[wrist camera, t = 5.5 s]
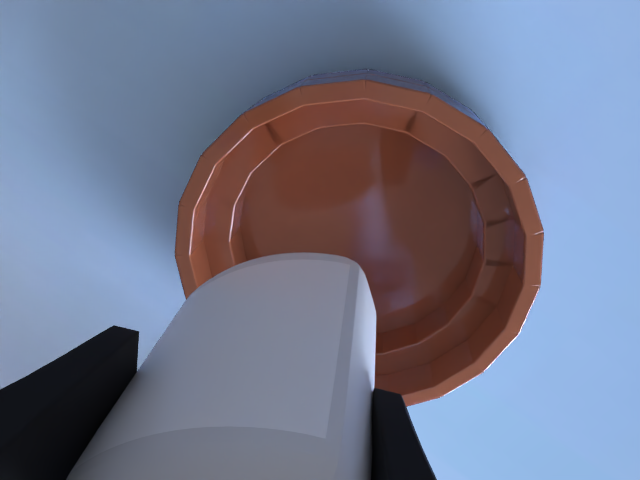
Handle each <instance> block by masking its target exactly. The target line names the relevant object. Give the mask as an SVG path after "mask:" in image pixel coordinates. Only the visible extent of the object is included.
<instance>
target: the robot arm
mask: <svg viewBox="0 0 640 480" xmlns="http://www.w3.org/2000/svg"><path fill="white" fill-rule="evenodd" d="M138 341H139V331H135V330H131V329H127V328H123V327H118V326H112V327H110V328H108V329H107V330H105V331H103V332H101V333H100V334H98V335H96V336H95V337H93V338H91V339H90V340H88V341H86V342H84V343H83V344H81V345H79V346H78V347H76V348H74V349H73V350H71V351H69V352H68V353H66V354H64V355H63V356H61V357H59V358H57V359H56V360H54V361H52V362H50V363H49V364H47V365H45V366H43V367H42V368H40V369H38V370H36V371H35V372H33V373H31V374H29V375H27V376H26V377H24V378H22V379H20V380H18V381H16V382H14V383H12V384H10V385H8V386H6V387H4V388H2V389H1V390H0V480H66V479H67V477H68V475H69V473H70V472H71V470H72V469H73V467H74V466H75V464H76V463H77V461H78V459H79V458H80V456H81V455H82V453H83V452H84V450H85V449H86V447H87V446H88V444H89V442H90V441H91V439H92V438H93V436H94V435H95V433H96V432H97V430H98V429H99V427H100V426H101V424H102V423H103V421H104V420H105V418H106V417H107V415H108V414H109V412H110V411H111V409H112V408H113V406H114V405H115V403H116V402H117V400H118V399H119V398H120V396H121V395H122V393H123V392H124V390H125V389H126V387H127V386H128V384H129V383H130V381H131V380H132V378H133V377H134V375H135V374H136V372H137V358H138ZM371 480H437V479H436V477H435V475H434V473H433V470H432V468H431V466H430V464H429V462H428V460H427V457H426V455H425V453H424V451H423V448H422V446H421V444H420V441H419V439H418V436H417V434H416V431H415V429H414V426H413V424H412V421H411V419H410V416H409V413H408V410H407V408H406V405H405V402H404V399H403V397H402V396H401V394H398V393H394V392H390V391H386V390H382V389H378V388H374V390H373V405H372V469H371Z"/></svg>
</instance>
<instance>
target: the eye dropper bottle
mask: <svg viewBox="0 0 640 480" xmlns="http://www.w3.org/2000/svg"><path fill="white" fill-rule="evenodd" d="M375 348H376V310H375V306H374V302H373V299H372V295H371V292H370V288H369V285H368V282H367V279H366V276H365V273H364V272H363V270H362V269H361V267H360V266H359V264H358V263H356V262H355V261H353V260H351V259H349V258H347V257H343V256H338V255H332V254H323V253H304V252H302V253H283V254H276V255H269V256H264V257H260V258H256V259H252V260H249V261H246V262H243V263H241V264H238V265H235V266H233V267H231V268H229V269H227V270H225V271H223V272H221V273H219V274H217V275H216V276H214V277H213V278H211V279H209V280H208V281H206V282H205V283H204V284H202V285H201V286H199V287H198V288H197V289H196V290H195V291H194V292H193V293H191V294H190V295H189V297H188V298H187V299H186V301H185V302H184V304H183V305H182V307H181V308H180V310H179V311H178V312H177V314H176V315H175V317H174V318H173V320H172V321H171V323H170V324H169V326H168V327H167V328H166V330H165V331H164V333H163V334H162V336H161V337H160V339H159V340H158V342H157V343H156V345H155V346H154V347H153V349H152V350H151V352H150V353H149V355H148V356H147V358H146V359H145V361H144V362H143V364H142V365H141V367H140V368H139V369H138V371H137V372H136V374H135V375H134V377H133V378H132V380H131V381H130V383H129V384H128V386H127V387H126V389H125V390H124V392H123V393H122V395H121V396H120V398H119V399H118V400H117V402H116V403H115V405H114V406H113V408H112V409H111V411H110V412H109V414H108V415H107V417H106V418H105V420H104V421H103V423H102V424H101V426H100V427H99V429H98V430H97V432H96V433H95V435H94V436H93V438H92V439H91V441H90V442H89V444H88V446H87V447H86V449H85V450H84V452H83V453H82V455H81V456H80V458H79V459H78V461H77V463H76V464H75V466H74V467H73V469H72V470H71V472H70V473H69V475H68V477H67V479H66V480H371V469H372V405H373V390H374V384H375Z"/></svg>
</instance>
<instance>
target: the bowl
mask: <svg viewBox="0 0 640 480" xmlns="http://www.w3.org/2000/svg"><path fill="white" fill-rule="evenodd" d="M543 240H544V233H543V227H542V224H541V220H540V217H539V214H538V211H537V208H536V205H535V202H534V198H533V195H532V192H531V189H530V186H529V183H528V180H527V178H526V176H525V174H524V173H523V171H522V170H521V169H520V168H519V166H518V165H517V164H516V163H515V161H514V160H513V159H512V158H511V156H510V155H509V154H508V153H507V151H506V150H505V149H504V148H503V146H502V145H501V144H500V143H499V141H498V140H497V139H496V138H495V136H494V135H493V134H492V133H491V131H490V130H489V129H488V128H487V127H486V125H485V124H484V123H483V122H482V121H481V120H480V119H479V117H478V116H477V115H476V114H475V113H474V112H473V111H472V110H471V109H469V108H468V107H466V106H465V105H463V104H461V103H460V102H458V101H456V100H455V99H453V98H452V97H450V96H448V95H447V94H445V93H443V92H442V91H440V90H439V89H437V88H435V87H434V86H432V85H430V84H429V83H427V82H423V81H422V80H418V79H413V78H409V77H404V76H400V75H395V74H391V73H386V72H382V71H377V70H372V69H369V70H368V69H359V70H351V71H342V72H333V73H324V74H315V75H312V76H308V77H306V78H304V79H302V80H300V81H298V82H296V83H294V84H292V85H289V86H287V87H285V88H283V89H281V90H279V91H277V92H275V93H273V94H271V95H268V96H266V97H264V98H263V99H261V100H260V101H259V102H257V103H256V104H254V105H253V106H252V107H250V108H249V109H248V110H246V111H245V112H244V113H242V114H241V115H240V116H239V117H238V118H237V119H236V120H235V121H234V122H233V123H232V124H231V125H230V126H229V127H228V128H227V129H226V130H225V131H224V132H223V133H222V134H221V135H220V136H219V137H218V138H217V139H216V140H215V141H214V142H213V143H212V144H211V145H210V146H209V147H208V148H207V149H206V150H205V151H204V152H203V153H202V155H201V156H200V158H199V160H198V162H197V164H196V166H195V169H194V171H193V173H192V175H191V177H190V179H189V182H188V184H187V186H186V188H185V190H184V192H183V195H182V197H181V199H180V201H179V205H178V218H177V230H176V242H175V259H176V263H177V267H178V270H179V274H180V278H181V282H182V286H183V290H184V294H185V297H186V299H187V298H188V297H189V295H190V294H191V293H193V292H194V291H195V290H196V289H197V288H198V287H199V286H201V285H202V284H204V283H205V282H206V281H208V280H209V279H211V278H213V277H214V276H216V275H217V274H219V273H221V272H223V271H225V270H227V269H229V268H231V267H233V266H235V265H238V264H241V263H243V262H246V261H249V260H252V259H256V258H260V257H264V256H269V255H276V254H283V253H302V252H304V253H323V254H332V255H338V256H343V257H347V258H349V259H351V260H353V261H355V262H356V263H358V264H359V266H360V267H361V269H362V270H363V272H364V273H365V276H366V279H367V282H368V285H369V288H370V292H371V295H372V299H373V302H374V306H375V310H376V348H375V384H374V388H378V389H382V390H386V391H390V392H394V393H398V394H401V396H402V397H403V399H404V402H405V405H406V407H407V406H411V405H414V404H418V403H422V402H426V401H430V400H433V399H437V398H440V397H442V396H444V395H446V394H448V393H449V392H451V391H453V390H454V389H456V388H458V387H460V386H461V385H463V384H465V383H466V382H468V381H470V380H472V379H473V378H475V377H477V376H478V375H480V374H482V373H484V371H486V370H487V368H488V367H489V366H490V365H491V364H492V363H493V362H494V361H495V360H496V359H497V358H498V357H499V355H500V354H501V353H502V352H503V351H504V350H505V349H506V348H507V347H508V346H509V345H510V344H511V343H512V341H513V340H514V339H515V338H516V337H517V336H518V334H519V333H520V332H521V329H522V327H523V325H524V323H525V320H526V318H527V316H528V314H529V311H530V309H531V307H532V305H533V302H534V300H535V298H536V296H537V293H538V291H539V289H540V285H541V273H542V257H543Z"/></svg>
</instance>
